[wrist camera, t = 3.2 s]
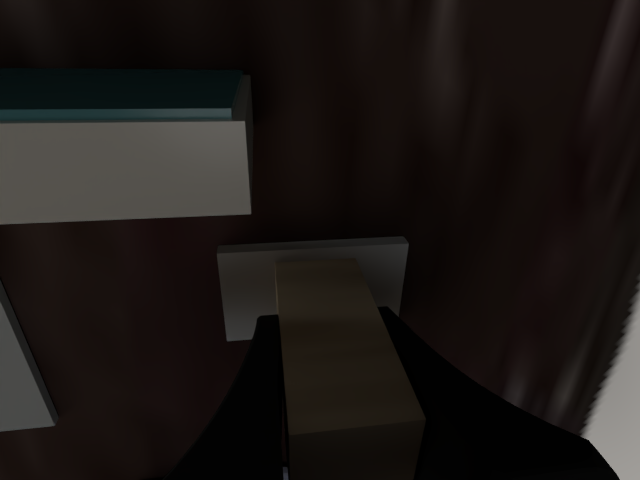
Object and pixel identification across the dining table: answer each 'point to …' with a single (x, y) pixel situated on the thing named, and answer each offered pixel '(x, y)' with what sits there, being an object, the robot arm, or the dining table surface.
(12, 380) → the mat
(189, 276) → the dining table surface
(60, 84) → the tile
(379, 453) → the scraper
